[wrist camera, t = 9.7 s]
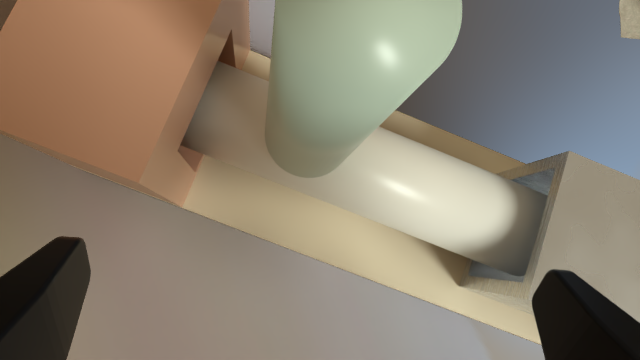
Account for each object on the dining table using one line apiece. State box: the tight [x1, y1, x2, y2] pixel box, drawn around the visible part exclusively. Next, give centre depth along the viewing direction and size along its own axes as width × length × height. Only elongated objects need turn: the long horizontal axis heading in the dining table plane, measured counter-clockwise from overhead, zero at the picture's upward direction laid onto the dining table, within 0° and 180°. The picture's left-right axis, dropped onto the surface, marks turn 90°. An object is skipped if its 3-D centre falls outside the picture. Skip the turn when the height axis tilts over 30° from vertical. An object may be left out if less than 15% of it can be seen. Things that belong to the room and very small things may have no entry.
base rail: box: [74, 50, 542, 345], centre depth 20 cm, size 7×26×1 cm, turn 69°
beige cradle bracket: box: [180, 0, 548, 276], centre depth 13 cm, size 3×15×12 cm, turn 69°
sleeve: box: [459, 151, 640, 323], centre depth 18 cm, size 5×8×5 cm, turn 69°
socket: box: [0, 0, 250, 207], centre depth 15 cm, size 7×4×7 cm, turn 159°
